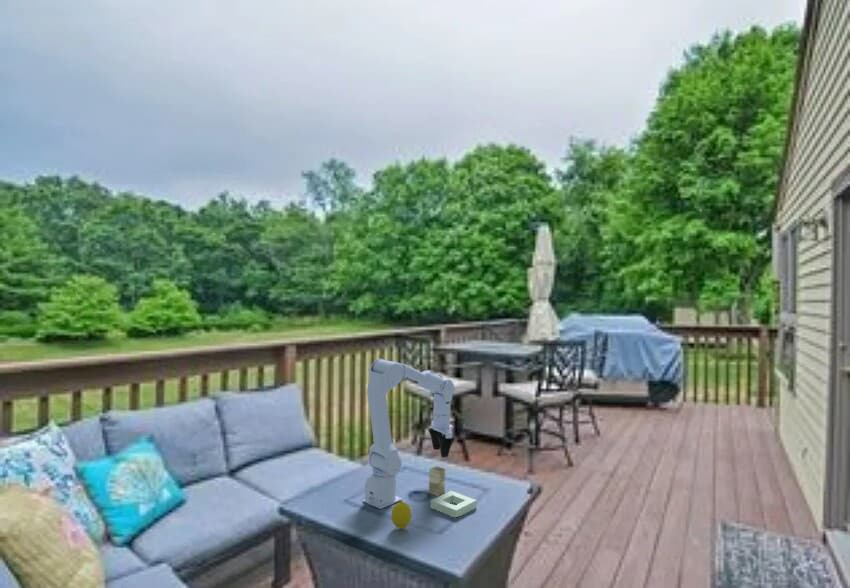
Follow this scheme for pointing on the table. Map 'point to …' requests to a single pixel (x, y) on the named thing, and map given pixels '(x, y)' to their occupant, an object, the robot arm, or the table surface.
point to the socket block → (457, 510)
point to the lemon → (401, 515)
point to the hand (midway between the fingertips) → (440, 452)
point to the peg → (437, 480)
